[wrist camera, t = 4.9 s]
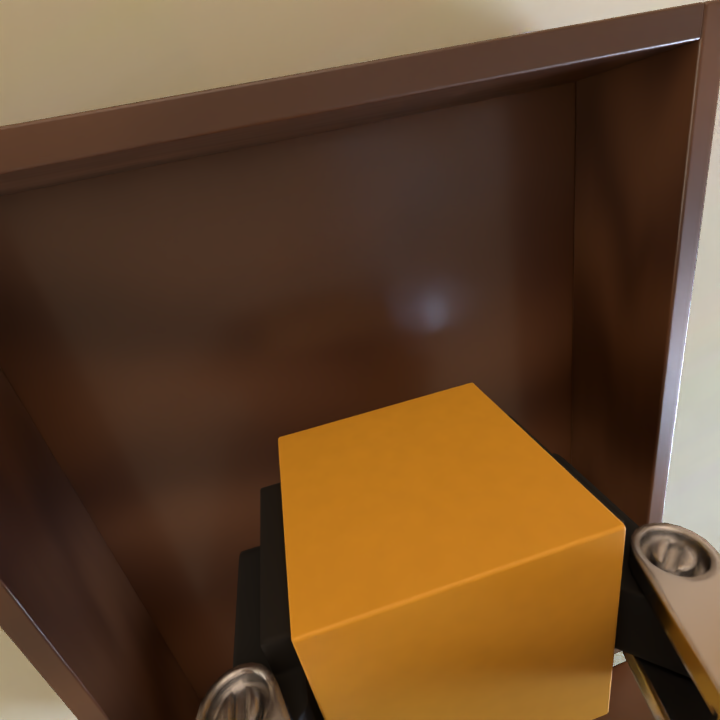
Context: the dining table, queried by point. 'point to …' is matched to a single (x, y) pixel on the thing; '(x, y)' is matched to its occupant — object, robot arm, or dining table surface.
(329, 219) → the brown wooden tray
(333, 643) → the plain orange cube
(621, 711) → the lid
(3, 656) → the dining table surface
